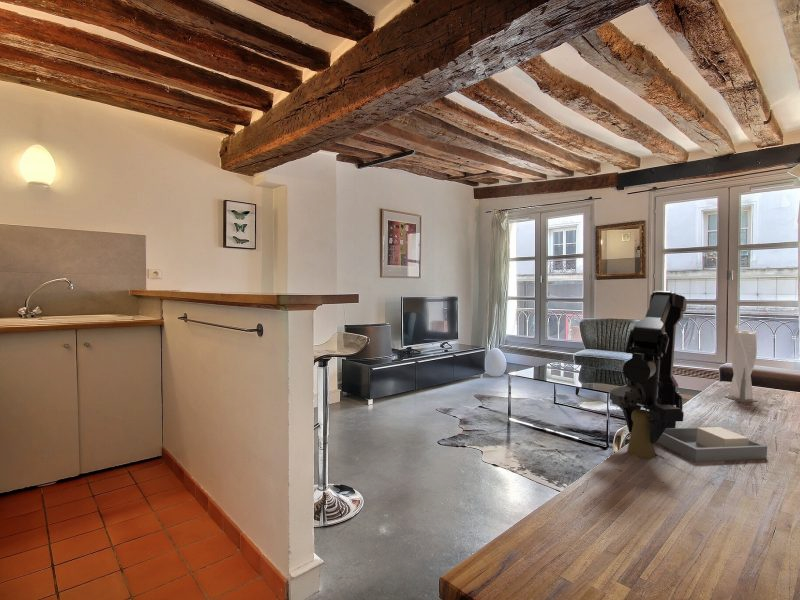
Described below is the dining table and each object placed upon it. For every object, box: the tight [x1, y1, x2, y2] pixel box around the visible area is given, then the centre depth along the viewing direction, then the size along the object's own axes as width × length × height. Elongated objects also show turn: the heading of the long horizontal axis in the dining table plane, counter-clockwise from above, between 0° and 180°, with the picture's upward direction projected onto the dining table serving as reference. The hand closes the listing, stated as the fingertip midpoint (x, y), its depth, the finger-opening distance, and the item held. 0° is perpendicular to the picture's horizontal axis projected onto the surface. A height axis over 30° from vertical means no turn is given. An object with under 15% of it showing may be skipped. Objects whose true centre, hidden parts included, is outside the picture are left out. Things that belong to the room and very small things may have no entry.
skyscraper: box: [724, 325, 758, 403], centre depth 164 cm, size 8×8×28 cm
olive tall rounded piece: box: [627, 408, 656, 460], centre depth 107 cm, size 6×6×11 cm
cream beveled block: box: [696, 426, 750, 448], centre depth 110 cm, size 8×7×4 cm
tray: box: [656, 426, 768, 463], centre depth 110 cm, size 14×20×4 cm
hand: (641, 437), depth 107 cm, fingers open, 7 cm apart
